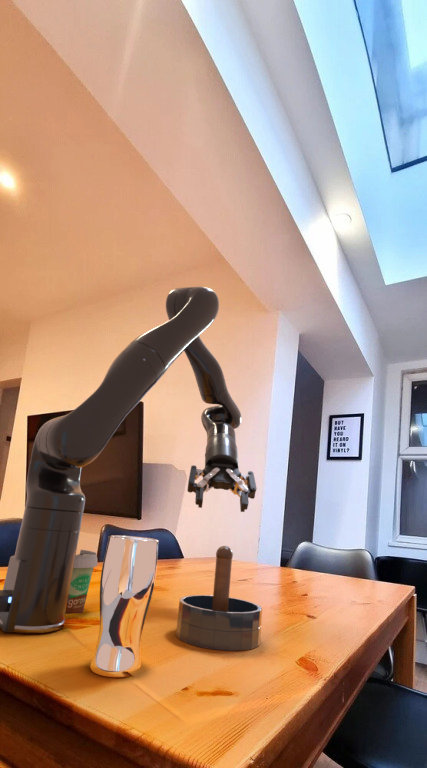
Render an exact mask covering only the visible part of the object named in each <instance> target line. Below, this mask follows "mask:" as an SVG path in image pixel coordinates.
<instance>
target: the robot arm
mask: <svg viewBox="0 0 427 768" xmlns="http://www.w3.org/2000/svg"><path fill="white" fill-rule="evenodd" d="M219 308H220V300H219V297H218V294H217V292H215V291H214V290H213V289H212V288H209V287H206V286H189V287H188V286H187V287H177V288H173V289H171V290H170V292H169V293H168V294H167V296H166V299H165V312H166V314H167V318H168V320H167V321H166V322H164V323H162V324H160V325H157V326H155V327H154V328H151V329H150V330H147V331H145V332H144V333H141V334H140V335H139V336H137V337H135V338H134V339H133V340H131V342H129V344H128V345H127V346H126V347H125V348H124V349H123V350H122V351H120V353H119V354H118V355H117V356H116V357H115V358H114V360H113V361H112V362H111V364H110V366H109V368H108V369H107V372H106V373H105V376H104V378H103V380H102V381H101V383H100V385H99V386H98V387H97V388H96V390H94V392H93V393H91V394H90V395H89V396H88V397H87V398H86V399H85V400H84V401H83V402H82V403H80V405H78V406H77V407H76V408H75V409H73V410H72V411H70V412H69V413H67V414H65V415H62V416H58V417H54V418H51V419H50V420H48V421H46V422H45V423H43V424H42V425H41V426H40V428H39V429H38V430H37V431H38V432H37V434H36V435H35V439H34V442H33V445H32V449H31V455H30V460H29V466H28V472H27V477H26V483H25V484H26V487H25V488H26V489H25V490H26V502H25V507H24V509H23V510H24V511H23V516H22V520H21V525H20V529H19V534H18V538H17V542H16V548H15V552H14V555H11V556H10V557H9V561H8V565H7V571H6V574H5V579H4V584H3V588H2V589H0V629H1V630H2V631H3V632H4V633H19V634H20V633H21V634H45V633H51V632H56V631H59V630H61V629H63V628H64V626H65V622H66V619H65V618H66V617H65V616H66V615H67V614H66V606H67V602H68V603H69V598H70V595H69V590H70V584H71V578H72V573H73V567H74V561H75V556H76V555H77V551H78V544H79V539H80V538H79V537H80V532H81V528H82V521H83V516H84V511H85V506H86V505H85V504H86V495H85V494H84V492H83V491H82V489H81V488H82V487H81V474H82V469H83V467H86V466H88V465H90V464H91V463H93V462H94V461H95V460H96V459H97V458H99V457H98V456H99V455H100V454H101V453H102V452H103V450H104V449H105V447H106V446H107V444H108V443H109V441H110V439H111V438H112V437H113V435H114V434H115V432H116V431H117V429H118V428H119V427H120V425H121V423H122V422H123V421H124V420H125V419H126V417H127V416H128V415H129V414H130V413H131V411H132V410H133V409H134V408H135V407H136V406H137V405H138V404H139V403H140V402H141V401H142V399H144V398H145V396H146V395H147V394H148V392H150V391H151V389H153V387H154V386H155V385H157V383H158V381H160V380H161V378H162V377H163V376H164V375H165V374H166V372H167V371H168V369H169V368H170V367H171V366H172V365H173V364H174V362H175V361H176V360H177V359H178V358H179V357H180V356H181V355H182V354H183V352H184V354H185V356H186V358H187V360H188V362H189V365H190V367H191V369H192V373H193V374H194V378H195V382H196V385H197V388H198V391H199V394H200V397H201V398H200V399H201V400H202V402H204V403H205V404H208V405H213V406H209V407H207V408H205V409H204V410H203V411H202V412H201V415H200V420H201V424H202V427H203V429H204V431H205V432H206V445H205V453H204V468H203V469H200V468H198V467H197V465H191V466H190V471H189V476H188V482H187V493H194V494H195V498H194V499H195V501H194V503H195V505H196V506H198V507H197V508H198V509H200V508H201V509H202V508H203V501H204V493H207V492H208V491H210V490H212V489H214V490H225V491H230V492H231V493H233V495H237V496H238V497H239V507H240V513H245V512H246V511H245V510H248V508H249V499H252V500H254V499H255V497H256V493H257V489H258V488H257V483H256V478H255V474H254V472H253V471H251V470H249V471H248V472H247V473H241V471H240V470H239V469H240V468H239V455H238V446H237V440H236V439H237V438H236V430H235V429H238V428H239V427H240V425H241V423H242V414H241V410H240V408H239V407H238V405H237V404H236V402H235V401H234V399H233V398H232V396H231V393H230V392H229V390H228V386H227V382H226V379H225V376H224V372H223V368H222V366H221V365H220V363H219V361H218V360H217V359H216V357H215V356H214V354H213V353H212V352H211V351H210V350H209V349H208V347H207V346H206V344H205V343H204V342H203V340H202V339H201V337H200V336H201V335H202V334H203V333H204V332H205V331H206V330H207V329H208V328H210V326H211V325H212V324H213V323H214V322H215V320H216V318H217V315H218V313H219V310H220V309H219ZM200 477H202V479H201V480H200V481H199V482H195V481H197V480H198V479H199V478H200Z"/></svg>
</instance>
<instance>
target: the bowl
mask: <svg viewBox="0 0 427 768" xmlns="http://www.w3.org/2000/svg"><path fill="white" fill-rule="evenodd" d="M212 602H213V594H192V595H184V596H182V597H179V603H178V612H177V620H176V631H175V636H176V637H177V638H178V640H180V641H182V642H183V643H185V644H189V645H191V646H195V647H197V648H203V649H208V650H215V651H224V652H225V651H228V652H242V651H248V650H253V649H256V648H258V647H259V646H260V644H261V637H262V636H261V634H262V619H263V618H262V615H263V608H262V607H261V605H259V604H257V603H255V602H252V601H249V600H245V599H241V598H235V597H230V596H229V604H228V612H224V611H214V610H212Z"/></svg>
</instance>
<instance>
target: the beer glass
mask: <svg viewBox="0 0 427 768" xmlns="http://www.w3.org/2000/svg"><path fill="white" fill-rule="evenodd" d="M159 542H160V540H159V539H156V538H152V537H144V536H135V535H134V536H133V535H121V534H119V535H117V534H114V535H113V534H112V535H111V534H110V535H108V539H107V544H106V548H105V553H104V556H103V562H102V566H101V573H100V581H99V627H98V636H97V642H96V646H95V650H94V652H93V655H92V658H91V662H90V666H89V669H90V671H91V672H93V673H94V674H96V675H99V676H102V677H106V678H128V677H133V674H132V673H130V672H133V671H137V670H138V669H140V668H141V666H142V653H141V652H142V651H141V648H142V647H141V646H142V637H143V630H144V626H145V622H146V619H147V616H148V611H149V607H150V604H151V602H152V599H153V598H152V597H153V593H154V589H155V584H156V578H157V572H158V571H157V569H158V556H159Z"/></svg>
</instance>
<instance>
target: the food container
mask: <svg viewBox="0 0 427 768" xmlns="http://www.w3.org/2000/svg"><path fill="white" fill-rule="evenodd" d="M98 566H99V565H98V556H97V552H95V551H91V550H85V549H80V552H79V554H76V556H75V561H74V567H73V573H72V578H71V584H70V590H69V595H70V598H69V603H68V602H67V606H66V614H65V615H73V614H83V613H84V610H85V605H86V601H87V597H88V593H89V588H90V584H91V581H92V576H93V572H94V568H96V567H98Z"/></svg>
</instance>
